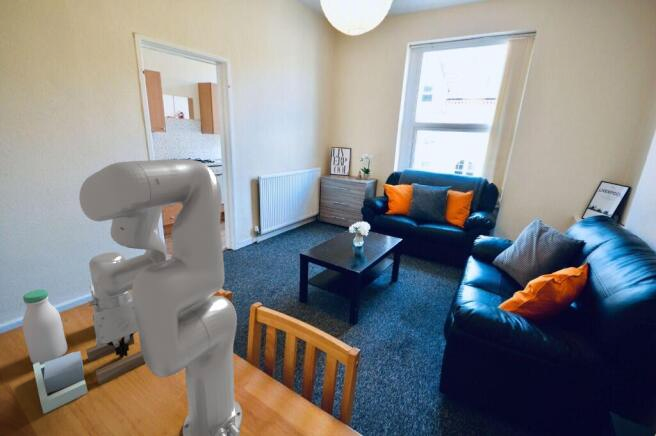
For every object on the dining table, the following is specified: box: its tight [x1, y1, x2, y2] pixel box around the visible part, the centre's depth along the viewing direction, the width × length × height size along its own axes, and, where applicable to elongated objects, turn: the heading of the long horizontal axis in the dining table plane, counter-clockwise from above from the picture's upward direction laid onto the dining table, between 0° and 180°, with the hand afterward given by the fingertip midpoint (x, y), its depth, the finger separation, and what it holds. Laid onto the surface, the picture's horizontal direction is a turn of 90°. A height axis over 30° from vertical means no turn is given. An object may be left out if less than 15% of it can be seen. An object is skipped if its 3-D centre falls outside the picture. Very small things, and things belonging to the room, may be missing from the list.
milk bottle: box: [21, 289, 68, 365], centre depth 81 cm, size 8×8×20 cm
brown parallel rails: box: [85, 335, 146, 385], centre depth 83 cm, size 13×11×3 cm
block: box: [43, 350, 85, 395], centre depth 76 cm, size 7×7×4 cm
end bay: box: [32, 351, 89, 415], centre depth 74 cm, size 15×8×4 cm, turn 48°
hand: (122, 354), depth 84 cm, fingers closed
